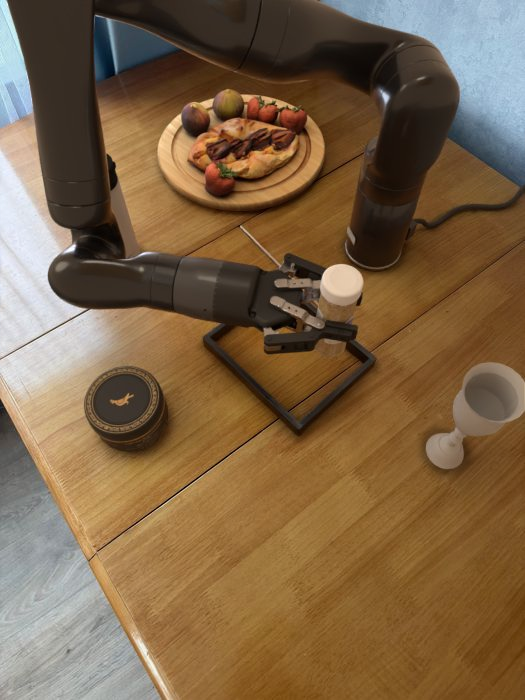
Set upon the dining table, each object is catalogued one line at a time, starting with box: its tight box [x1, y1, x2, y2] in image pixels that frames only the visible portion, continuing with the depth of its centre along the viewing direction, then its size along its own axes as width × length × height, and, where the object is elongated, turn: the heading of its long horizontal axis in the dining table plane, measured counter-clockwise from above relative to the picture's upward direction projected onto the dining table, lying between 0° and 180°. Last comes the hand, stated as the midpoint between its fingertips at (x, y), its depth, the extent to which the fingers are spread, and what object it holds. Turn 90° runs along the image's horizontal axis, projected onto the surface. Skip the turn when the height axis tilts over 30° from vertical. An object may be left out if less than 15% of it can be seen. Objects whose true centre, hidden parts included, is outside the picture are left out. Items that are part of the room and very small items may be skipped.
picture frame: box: [201, 302, 378, 437], centre depth 78 cm, size 16×20×2 cm
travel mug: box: [106, 152, 141, 259], centre depth 80 cm, size 6×7×20 cm
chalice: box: [425, 361, 525, 470], centre depth 63 cm, size 7×7×18 cm
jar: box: [83, 365, 169, 453], centre depth 70 cm, size 10×10×8 cm
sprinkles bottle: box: [313, 263, 364, 358], centre depth 63 cm, size 5×5×14 cm
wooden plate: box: [156, 88, 327, 212], centre depth 98 cm, size 32×32×8 cm
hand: (358, 315), depth 62 cm, fingers closed on sprinkles bottle, 4 cm apart
